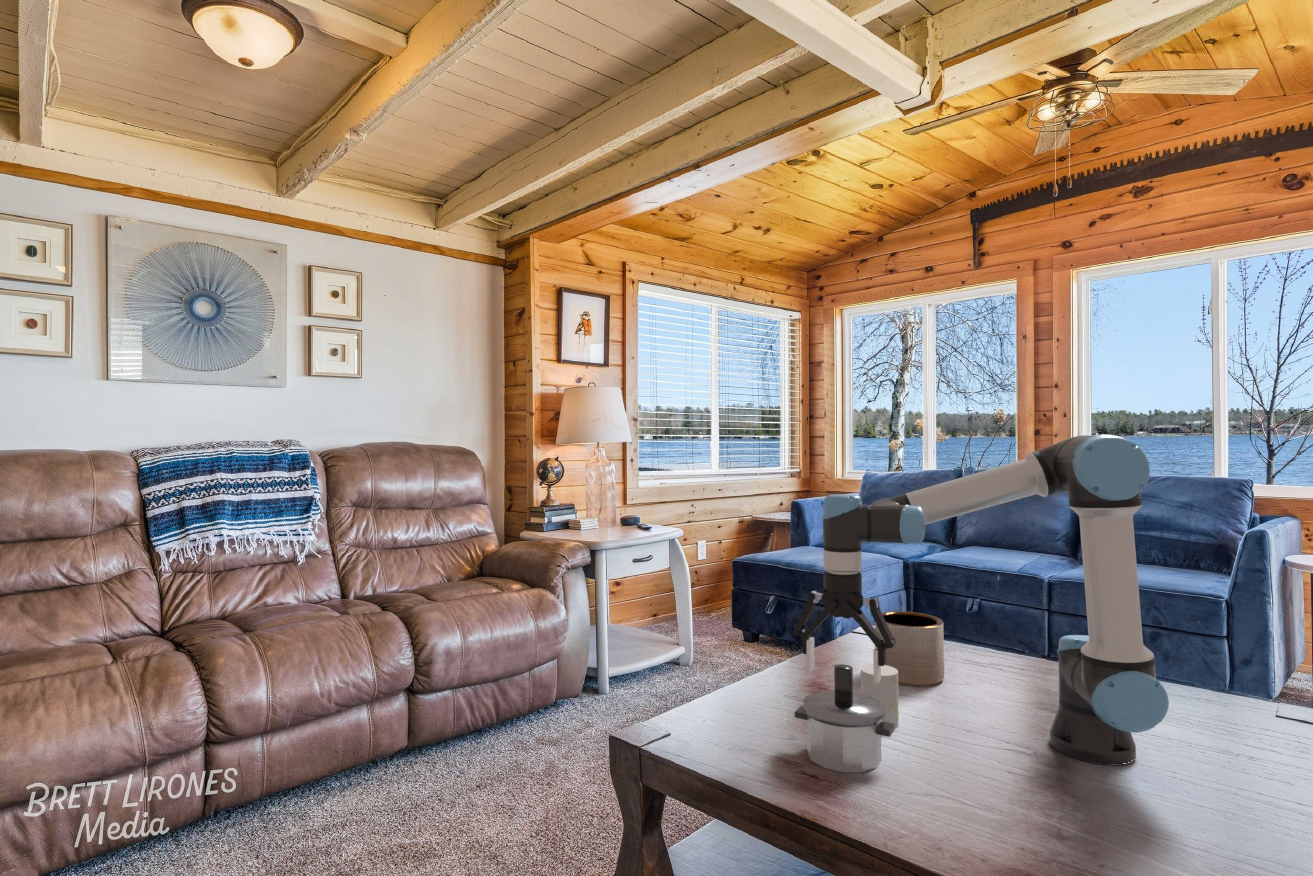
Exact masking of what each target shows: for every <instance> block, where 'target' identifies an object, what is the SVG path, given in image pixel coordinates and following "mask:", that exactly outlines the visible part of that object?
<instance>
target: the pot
mask: <svg viewBox="0 0 1313 876" xmlns="http://www.w3.org/2000/svg"><path fill="white" fill-rule="evenodd" d="M794 718H795V719H801V720H806V738H807V739H806V741H807V742H806V744H807V745H806V748H807V751H806V752H807V754H808V757H809V759H810V761H811V762H813V763H815V764H817V765H818V766H820V767H822V768H824V769H829V770H832V771H836V772H840V773H865V772H869V771H871V770H874V769H877V768H878V766H879V765H880V763H881V762H882V736H883V737H887V738H891V736H892V734H893V733H894V731H895V724H893V723H888V722H883V721H882V722H881V723H879V724H876V725H873V726H868V727H856V728H852V727H839V726H833V725H828V724H825V723H821V722H818V721H816V720H814V719H812V718H810V717H809V716H807V715H806V714H805V712H804V709H803V705H800V706H799V707H798V708H797V709H796V710H795V711H794Z"/></svg>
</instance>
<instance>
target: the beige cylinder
mask: <svg viewBox="0 0 1313 876" xmlns="http://www.w3.org/2000/svg"><path fill="white" fill-rule="evenodd" d="M860 693H861V694H865V695H868V696H871V697H873V698H875V699H877V700H879V701H880V702H882V703H883V704H884V706H885V719H884V720H883V722H888V723H893V724H895V729H897V728H898V727H899V724H900V723H899V720H900V719H899V717H900V716H899V713H900V712H899V684H898V670H897V669H895V668H893V667H890V666H887V665H884V666H881V680H880V681H879V683H878V684H876V683H874V664H873V663H872V664H871V663H870V664H864V665H862V666H861V667H860Z"/></svg>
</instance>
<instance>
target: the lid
mask: <svg viewBox="0 0 1313 876" xmlns="http://www.w3.org/2000/svg"><path fill="white" fill-rule="evenodd" d="M853 669H854V668H853V666H852V665H850V664H839V663H838V664H836V665H834V668H833V674H834V675H833V676H834V678H833V679H834V680H833V681H834V682H833V685H834V686H833V687H834V688H833V690H821V691H816V692H812V693H810V694H808V695H807V696H805V697H804V699H803V702H802V703H803V705H802V706H803V709H804V712H805V714H806V715H807V716H809V717H810V718H812V719H814V720H816V721H818V722H821V723H825V724H828V725H833V726H839V727H852V728H856V727H868V726H873V725H876V724H879V723H881V722H882V721H883V720H884V719H885V706H884V704H883V703H882V702H880V701H879V700H877V699H875V698H873V697H871V696H868V695H865V694H861V692H855V691H854V690H853V689H854V683H853V678H854V675H853V674H854V672H853V671H854V670H853Z"/></svg>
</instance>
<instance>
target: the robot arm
mask: <svg viewBox="0 0 1313 876" xmlns="http://www.w3.org/2000/svg"><path fill="white" fill-rule="evenodd" d="M1150 470H1151V468H1150V463H1149V460H1148V458H1147V454H1145V451H1144V450H1142V448H1141V447H1139V445H1137V444H1136V443H1135V442H1133V441H1131V440H1129V439H1127V438H1124V437H1122V436H1119V435H1118V436H1117V435H1114V434H1102V433H1101V434H1097V435H1095V434H1094V435H1076V436H1072V437H1070V438H1067V439H1064V440H1061V441H1059V442H1057V443H1054V444H1052V445H1048V446H1046V447H1044V448H1039V449H1037V450H1035V451H1031V452H1027V453H1026V455H1025V456H1024V458H1023V459H1021V460H1018V461H1014V462H1011V463H1007V464H1004V465H1000V466H997V467H993V468H989V469H986V470H981V471H979V472H976V473H973V474H968V475H966V476H962V477H959V478H955V479H952V480H948V481H945V482H941V483H938V484H934V485H931V486H927V487H925V488H921V489H918V490H913V491H910V492H907V493H905V494H900V495H896V496H893V497H890V498H886V497H885V498H884V497H883V498H880V499H878V500H876V501H874V502H873V503H872V504H863V502H862V497H861V496H860V495H857V494H843V493H842V494H841V493H839V494H836V493H835V494H828V495H826V496H825V497H824V499H823V508H822V509H823V511H822V538H823V543H822V544H823V553H822V554H823V555H822V556H823V559H822V560H823V561H822V562H823V564H822V566H823V569H824V572H823V593H821V592H817V590H812V591H810V592H809V593H808V594H807V603H806V604H805V606H804V609H803V611H802V612H801V615H800V616H799V619H798V620H797V623H796V625H794V628H793V631H792V634H793V635H794V636H797V637H798V636H799V637H800V638H801V648H802V649H801V651H802V654H803V655H806V672H807V673H811V672H813V671H814V670H815V659H816V658H815V637H814V636H812V635H813V634H814V632H815V631H816V630H818V628H819V627H820V626H821V625H822V624H823V622H824V621H825V620H826V619H828V617H829V616H830V615H832V616H833V617H834V618H842V619H853V620H854V622H856V623H857V624H858V625H859V626H860V628H861V629H862V631H864V633H865V635H867V637H868V638H869V639H870V641H871V642H872V643H873V644H874V649H873V653H872V654H873V655H872V656H873V661H872V662H873V663H872V664H874V683H876V684H878V683H879V681H880V680H881V666H884V665H885V663H886V649H887V648H892V647H893V646H894V645H895V644H896V642H895V639H894V637H893V635H892V633H891V631H890V629H889V627H888V625H887V623H886V621H885V619H884V617H883V615H882V613H883V612H882V611H881V609H880V601H879V598H878V597H877V596H873V597H872V598H870V597H866V598H864V597H863V593H862V592H863V591H862V590H863V585H862V584H863V582H862V581H863V577H862V576H863V574H862V573H861V572H860V571H861V570H862V567H863V566H862V559H863V558H862V555H863V553H862V543H884V544H885V543H886V544H887V543H888V544H904V545H908V544H920V543H921V542H923V541H924V539H925V535H926V526H927V525H929V524H932V523H935V522H940V521H943V520H947V519H951V518H955V517H958V516H961V515H966V514H969V513H973V512H976V511H980V510H983V509H987V508H990V507H991V508H992V507H996V506H998V505H1001V504H1005V503H1009V502H1012V501H1016V500H1020V499H1023V498H1028V497H1031V496H1034V495H1038V496H1041V497H1043V498H1046V497H1049V496H1053V495H1058V494H1065V493H1066V494H1067V496H1068V507H1069V509H1071V510H1072V511H1073V512H1074V513H1075V514H1076V515H1077V516H1078V518H1079V529H1080V531H1079V532H1080V543H1081V557H1082V567H1083V568H1082V569H1083V580H1084V581H1083V582H1084V591H1085V592H1084V593H1085V605H1086V608H1085V609H1086V617H1087V619H1086V621H1087V629H1088V630H1087V631H1088V634H1087V635H1086V634H1085V635H1083V634H1070V635H1064V636H1062V637H1060V638H1059V639H1058V649H1057V654H1058V709H1057V711H1056V714H1055V716H1054V719H1053V722H1052V724H1051V728H1050V730H1049V743H1050V745H1051V746H1052V747H1053V748H1054V749H1055V750H1056V751H1058V752H1060V753H1062V754H1064V755H1066V756H1069V757H1070V758H1073V759H1077V760H1080V761H1083V762H1088V763H1092V764H1098V763H1100V764H1099V765H1106V764H1123V763H1128V762H1131V761H1132V760H1134V759H1135V758H1137V747H1136V746H1137V745H1136V743H1135V741H1134V737H1133V735H1132V733H1134V734H1135V733H1143V732H1147V731H1150V730H1151V729H1154V728H1156V726H1158V724H1160V723H1161V722H1163V720H1165V717H1166V716H1167V714H1168V711H1169V706H1170V705H1169V703H1170V702H1169V695H1168V692H1167V691H1166V689H1165V687H1164V686H1163V684H1162V683H1161V682H1160V680H1158V679H1157V674H1156V673H1157V672H1156V662H1155V655H1154V654H1155V653H1154V652H1152V650H1150V649H1149V648H1148V647H1146V646H1145V644H1144V640H1143V638H1144V637H1143V627H1142V615H1141V612H1142V611H1141V604H1140V603H1141V602H1140V590H1139V577H1138V576H1139V575H1138V565H1137V553H1136V551H1137V550H1136V543H1135V542H1136V540H1135V529H1134V528H1135V527H1134V525H1135V524H1134V515H1135V514H1136V513H1137V512H1138V511H1139V510H1140V509H1141V508H1142V507H1143V505H1142V503H1143V502H1142V490H1143V489H1144V488H1145V487H1146V485H1147V483H1148V481H1149V479H1150V473H1151V472H1150ZM820 601H822V603H823V604H824V606H825V608H824V609H823V611H821V612H820V614H819V615H818V616H817V617H816V618H815V619H814V620H813V621H812V623H810V625H809V626H808V627H807V628H806V629H805V626H806V625H807V623H808V621H809V618H810V616H811V615H812V613H813V611H814V608H815V607H816V605H817V604H818V603H819V602H820ZM863 605H865V606H866V608H867V609H868V610H869V611H870V614H871V617H872V619H873V620H874V624H875V623H876V625H877V627H878V629H879V631H880V633H881V635H882V637H883V639H884V640H883V639H882V637H881V636H880V635H879V633H878V632H877V631H876V630H875V626H874V625H873V624H872V623H871V622H870V620H869V619H868V618H867V617H866V615H865V613H864V611H863V610H862V609H861V608H862V607H863ZM811 636H812V637H811ZM875 646H876V648H875ZM1135 760H1136V759H1135ZM1135 760H1134V761H1135ZM1131 763H1132V762H1131ZM1128 764H1129V763H1128ZM1123 765H1124V764H1123Z"/></svg>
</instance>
